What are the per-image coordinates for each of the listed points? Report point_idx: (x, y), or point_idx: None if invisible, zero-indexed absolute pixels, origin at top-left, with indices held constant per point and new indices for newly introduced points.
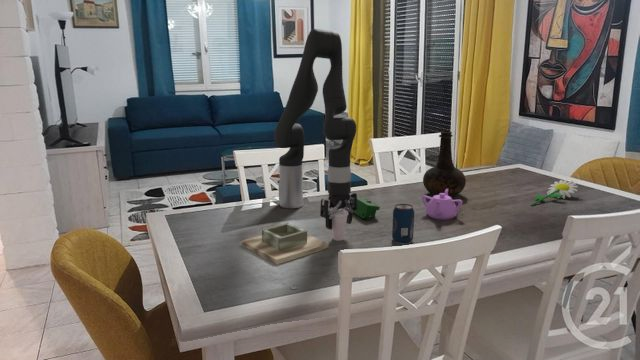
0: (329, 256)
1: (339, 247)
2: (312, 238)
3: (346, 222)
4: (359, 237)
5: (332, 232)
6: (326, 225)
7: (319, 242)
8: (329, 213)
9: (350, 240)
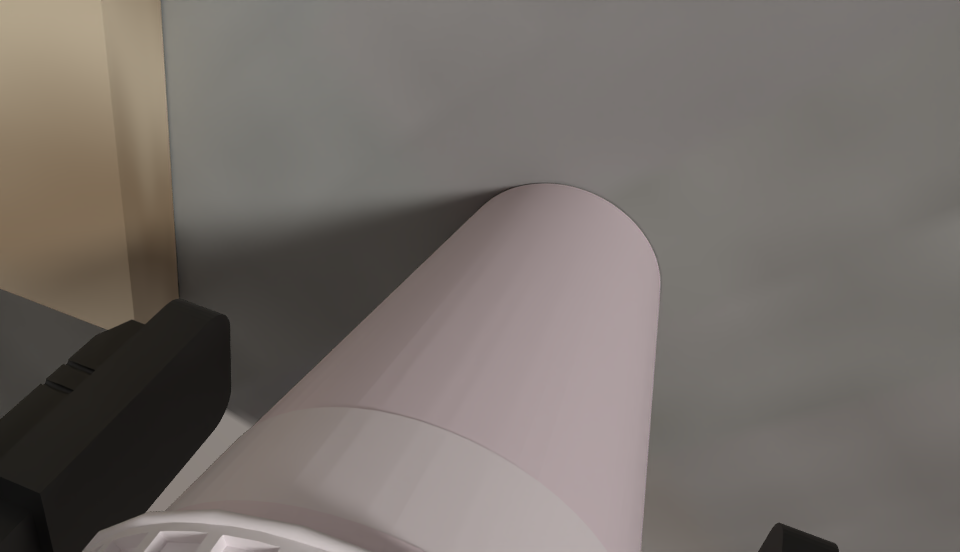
0: None
1: None
2: (48, 18)
3: (768, 543)
4: (823, 522)
5: (421, 265)
6: (94, 367)
7: (57, 217)
8: (99, 548)
9: None
